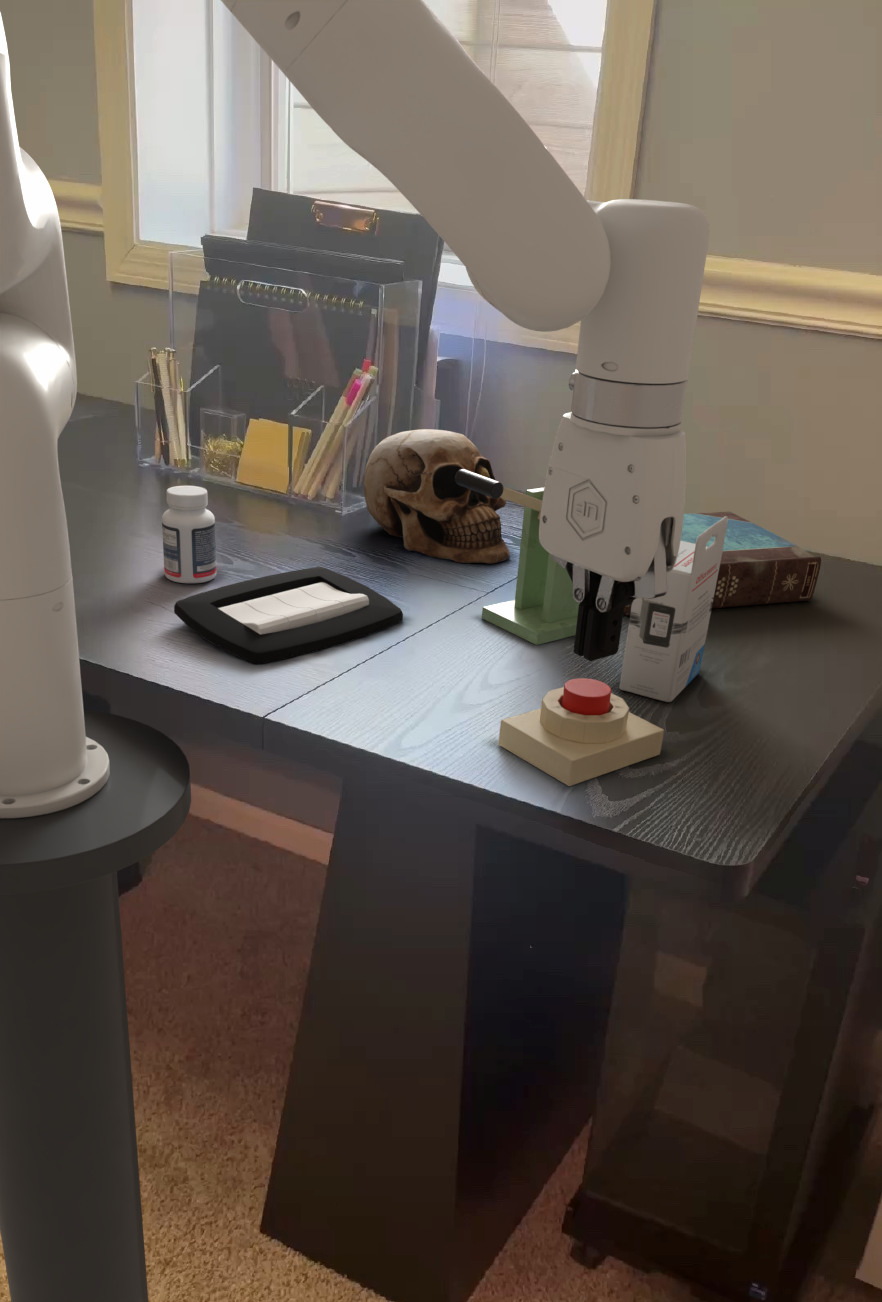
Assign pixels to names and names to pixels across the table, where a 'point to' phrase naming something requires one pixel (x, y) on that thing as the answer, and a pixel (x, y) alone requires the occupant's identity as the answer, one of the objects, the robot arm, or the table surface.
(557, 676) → the table surface
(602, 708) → the button
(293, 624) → the light switch
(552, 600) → the bracket
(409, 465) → the human skull model
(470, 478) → the lever
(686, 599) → the ink box
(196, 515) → the pill bottle
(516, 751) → the button box
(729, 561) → the book
